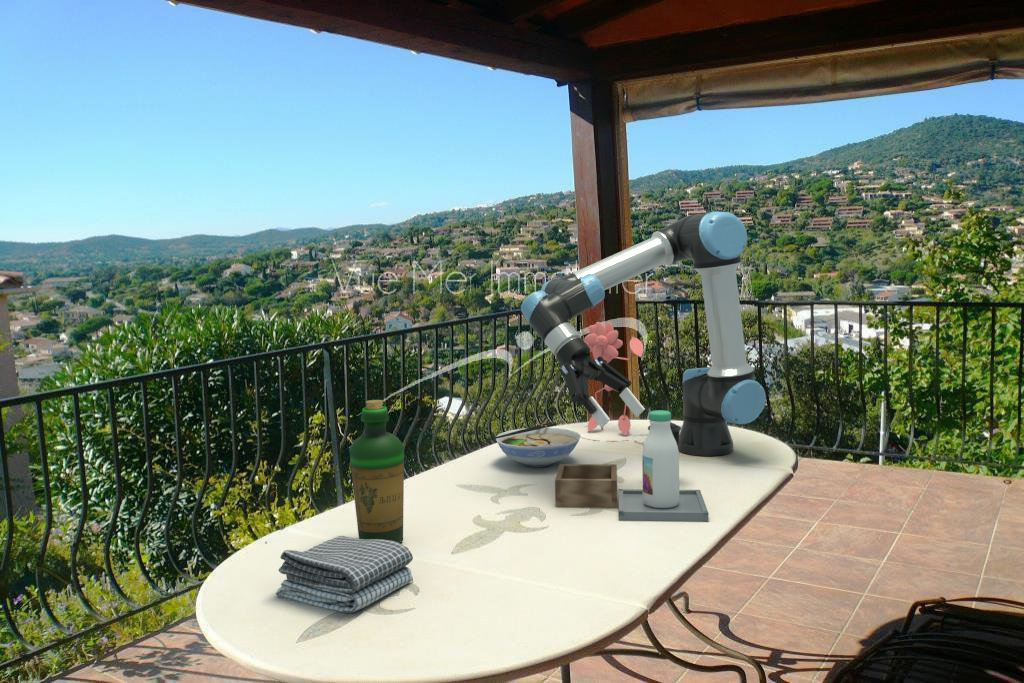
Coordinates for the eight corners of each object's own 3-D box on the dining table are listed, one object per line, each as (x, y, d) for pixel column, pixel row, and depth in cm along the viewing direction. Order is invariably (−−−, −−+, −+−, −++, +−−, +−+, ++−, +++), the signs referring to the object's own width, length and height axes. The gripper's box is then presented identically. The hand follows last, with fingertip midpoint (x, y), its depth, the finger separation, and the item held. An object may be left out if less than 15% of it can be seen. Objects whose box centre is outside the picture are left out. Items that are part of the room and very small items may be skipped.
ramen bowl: (533, 481, 191) (532, 448, 190) (475, 465, 208) (473, 435, 208) (602, 461, 208) (601, 431, 207) (543, 448, 225) (542, 420, 224)
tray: (700, 497, 174) (699, 489, 174) (708, 521, 159) (708, 512, 158) (618, 496, 177) (618, 489, 176) (619, 520, 161) (618, 511, 161)
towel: (358, 620, 120) (355, 571, 119) (272, 598, 129) (269, 552, 128) (416, 583, 133) (414, 538, 132) (335, 565, 142) (332, 523, 141)
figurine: (581, 426, 252) (577, 318, 248) (653, 435, 237) (651, 320, 233) (555, 436, 240) (550, 323, 236) (630, 446, 225) (626, 325, 220)
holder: (617, 489, 182) (616, 464, 182) (617, 507, 169) (616, 480, 169) (559, 489, 184) (559, 464, 184) (555, 507, 171) (554, 480, 170)
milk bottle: (681, 499, 170) (680, 409, 168) (676, 510, 163) (676, 415, 161) (646, 497, 172) (645, 407, 171) (639, 507, 165) (638, 414, 163)
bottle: (362, 557, 145) (354, 408, 142) (346, 540, 154) (339, 400, 152) (416, 546, 150) (410, 402, 147) (398, 530, 159) (391, 394, 156)
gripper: (591, 352, 192) (644, 419, 183) (524, 364, 173) (580, 439, 165) (608, 331, 188) (663, 398, 179) (542, 341, 169) (600, 417, 161)
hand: (623, 418), depth 172 cm, fingers open, 13 cm apart
